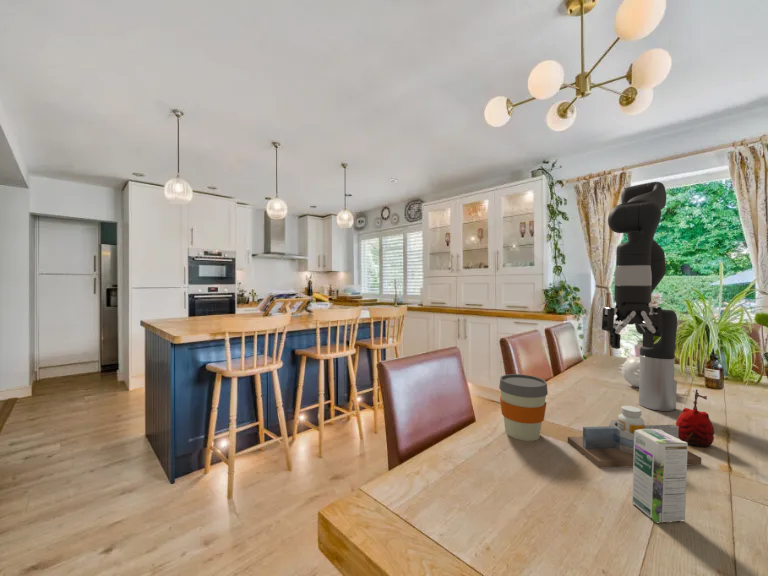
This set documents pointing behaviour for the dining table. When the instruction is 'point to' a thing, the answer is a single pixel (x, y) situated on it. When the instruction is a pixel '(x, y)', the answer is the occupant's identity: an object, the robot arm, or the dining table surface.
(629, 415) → the supplement bottle
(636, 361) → the cat head
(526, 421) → the reusable coffee cup
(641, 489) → the syrup box
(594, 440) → the grey winged octagonal holder
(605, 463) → the board
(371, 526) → the dining table surface
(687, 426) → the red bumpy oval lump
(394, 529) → the dining table surface
